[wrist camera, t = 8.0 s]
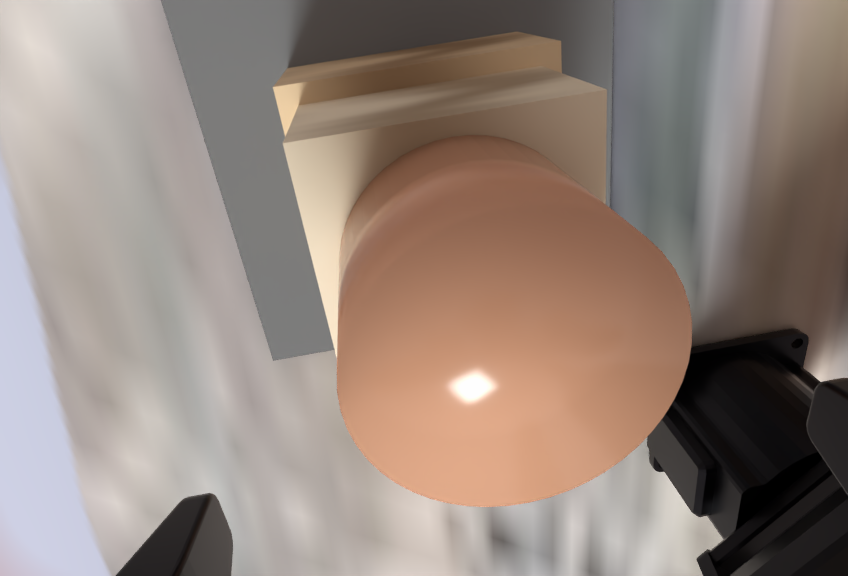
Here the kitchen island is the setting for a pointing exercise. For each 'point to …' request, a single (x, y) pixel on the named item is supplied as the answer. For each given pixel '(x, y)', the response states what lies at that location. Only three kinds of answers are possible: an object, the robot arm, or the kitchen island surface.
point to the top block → (426, 122)
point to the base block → (412, 69)
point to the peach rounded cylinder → (500, 326)
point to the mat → (315, 43)
